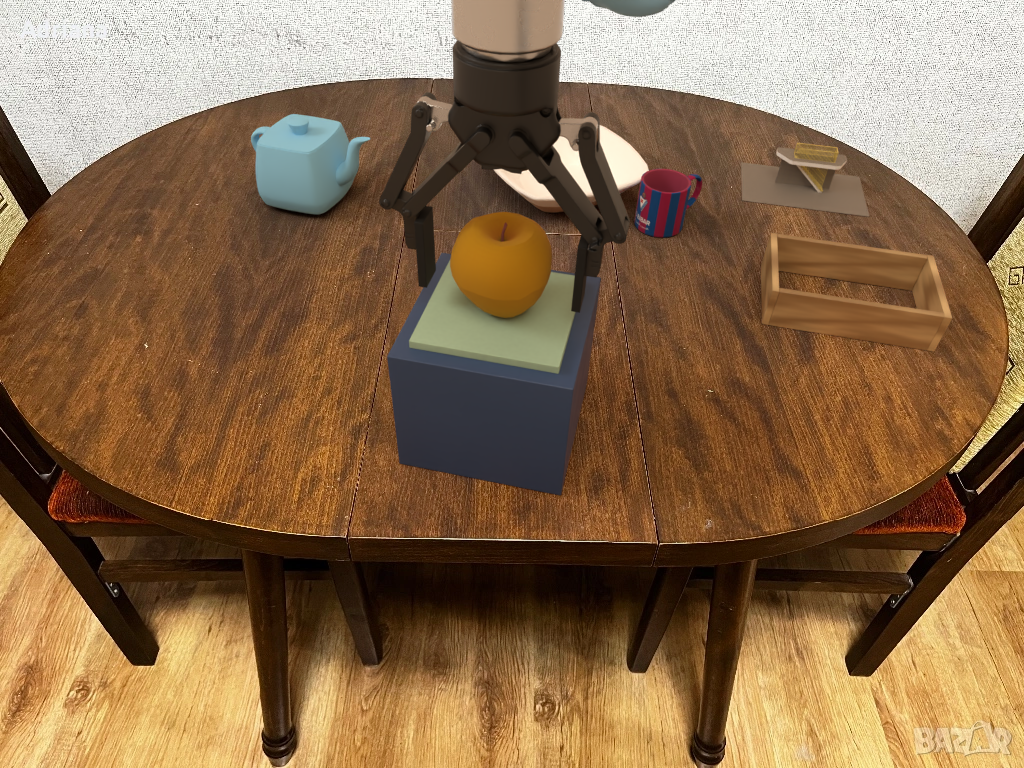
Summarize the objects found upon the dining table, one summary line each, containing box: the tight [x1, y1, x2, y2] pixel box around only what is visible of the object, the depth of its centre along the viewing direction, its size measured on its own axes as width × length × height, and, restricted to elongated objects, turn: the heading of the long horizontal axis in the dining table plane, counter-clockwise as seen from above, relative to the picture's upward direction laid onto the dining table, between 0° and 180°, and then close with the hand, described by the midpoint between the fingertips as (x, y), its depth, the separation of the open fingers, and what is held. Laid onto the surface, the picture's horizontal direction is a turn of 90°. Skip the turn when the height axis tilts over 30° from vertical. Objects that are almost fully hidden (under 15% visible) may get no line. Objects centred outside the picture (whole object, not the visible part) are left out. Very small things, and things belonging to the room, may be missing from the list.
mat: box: [409, 261, 575, 374], centre depth 69 cm, size 13×13×1 cm
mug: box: [633, 168, 703, 239], centre depth 105 cm, size 7×10×7 cm
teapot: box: [250, 113, 371, 215], centre depth 105 cm, size 12×18×12 cm
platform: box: [740, 142, 870, 218], centre depth 113 cm, size 12×18×7 cm, turn 78°
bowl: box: [493, 124, 650, 213], centre depth 111 cm, size 22×22×5 cm
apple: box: [450, 211, 553, 318], centre depth 65 cm, size 8×8×9 cm
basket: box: [760, 232, 953, 352], centre depth 93 cm, size 13×20×5 cm, turn 77°
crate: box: [386, 252, 602, 496], centre depth 74 cm, size 16×16×14 cm
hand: (501, 290), depth 67 cm, fingers open, 13 cm apart
